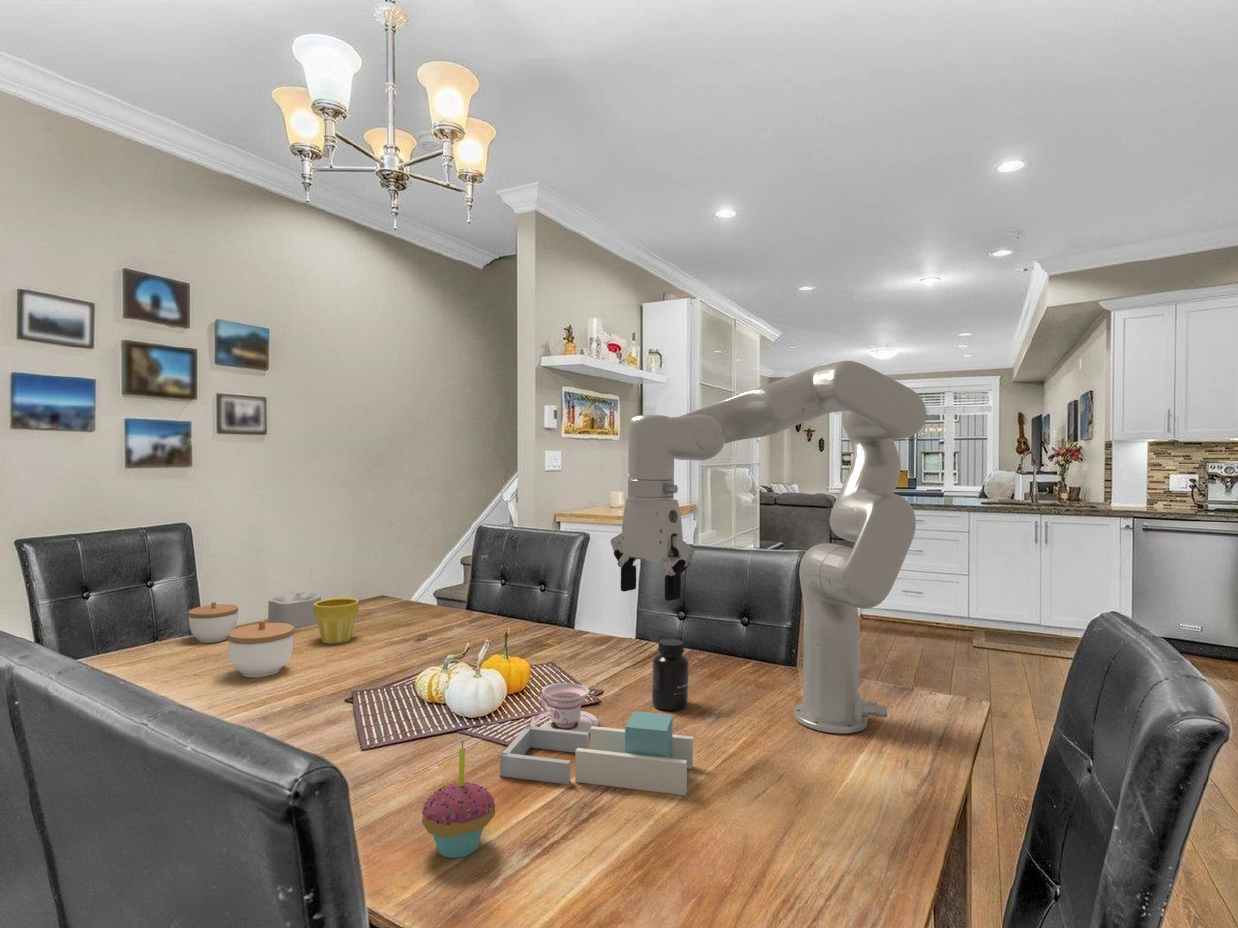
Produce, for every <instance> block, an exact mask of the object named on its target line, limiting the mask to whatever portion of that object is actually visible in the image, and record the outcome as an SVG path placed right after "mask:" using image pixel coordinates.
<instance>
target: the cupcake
mask: <svg viewBox="0 0 1238 928" xmlns="http://www.w3.org/2000/svg"><path fill="white" fill-rule="evenodd" d="M458 754H459V756H458V757H459V759H458V762H459V763H458V782H453V783H451V784H449V785H444V786H442V787H440V788H439V789H437V790H436V791H434V792H433V794H431V796H429V797H428V798H427V800H426V801H425V802H424V806H423V808H422V812H421V813H422V816H421V817H422V818H421V823H422V825H423V827H424V828H425V830H426V831H427V833H428V834H430V835H431V836H432V837H433V840H434V841H435V844H436V849H437V852H438V854H440V855H441V856H443V857H445V858H447V859H458V858H463V857H466V856H469V855H471V854H473V852H475V851H476V850H477V848H478V846H479V844H480V840H481V837H482V834H483V831H484V828H485V827H487V825H488V824H489V823H490V822H491V821H492V819H493V818H494V817H495V815H496V804H495V803H496V802H495V799H494V798H493V795H492V794H491V792H490V791H488V790H487V788H485V787H484V786H482V785H480V784H478V783H474V782H473V783H470V782H467V781H465V763H466V761H465V760H466V759H465V758H466V755H465V754H466V747H465V746H464V740H461V747H459V753H458Z"/></svg>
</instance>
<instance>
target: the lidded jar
mask: <svg viewBox="0 0 1238 928" xmlns="http://www.w3.org/2000/svg"><path fill="white" fill-rule="evenodd" d="M238 614H239V606H238V605H236V604H229V603H223V604H217V602H216V601H213V602H211V604H210V605H209V604H208V605H203V606H198V607H194V608H192V609H190V610H188V613H187V615H188V626H189V629H190V633H191V635H192V636H193V637H194V638H196V639H197V640H198V641H199V642H200V643H201V644H208V643H209V644H210V643H211V644H213V643H219V642H223V641H226V640H228V633H229V632H230V631H232V630H234V629H236V627H237V623H238V617H239V616H238Z"/></svg>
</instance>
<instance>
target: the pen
mask: <svg viewBox="0 0 1238 928" xmlns="http://www.w3.org/2000/svg"><path fill="white" fill-rule="evenodd" d="M552 728H553V727H552ZM552 728H543V727H533V726H530V725H526V726H525V727H524V728H523V729H522V731H520V732H519V734H518V735H517V736H516V737H515V738H514V739H513V741H512V742H511V743H510V744H509V745H508V746H507V747H506V748H505V749H504V751H503V752H501V754H499V777H506V778H514V779H522V780H529V781H530V780H531V781H538V782H545V783H554V784H562V785H569V784H570V782H571V760H569V759H561V758H560V759H559V758H554V757H553V758H551V757H542V756H537V755H536V756H534V755H526V753H528V751H529V749H531V748H534V749H542V750H549V751H550V750H551V751H558V752H569V753H575V752H576V749H577V748H583V749H590V734H589V732H580V731H571V729H562V728H554V729H552Z"/></svg>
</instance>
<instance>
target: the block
mask: <svg viewBox="0 0 1238 928" xmlns="http://www.w3.org/2000/svg"><path fill="white" fill-rule="evenodd" d="M673 718H674V717H673V714H667V713H657V712H647V711H635V710H633V711H632V713H631V716H630V717H629V719H628V721H627V723H626V725H625V728H624V729H625V753H628V754H637V755H646V756H655V757H663V758H672V734H673V720H674V719H673Z"/></svg>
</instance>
